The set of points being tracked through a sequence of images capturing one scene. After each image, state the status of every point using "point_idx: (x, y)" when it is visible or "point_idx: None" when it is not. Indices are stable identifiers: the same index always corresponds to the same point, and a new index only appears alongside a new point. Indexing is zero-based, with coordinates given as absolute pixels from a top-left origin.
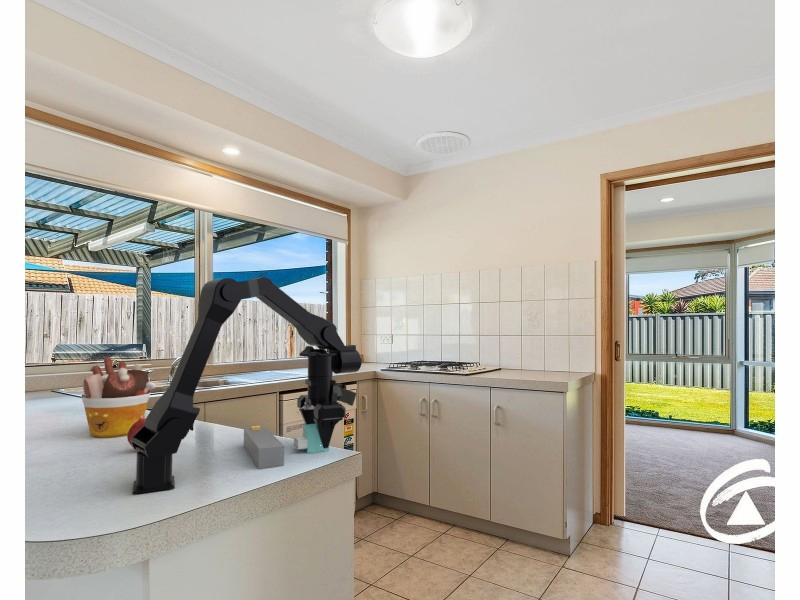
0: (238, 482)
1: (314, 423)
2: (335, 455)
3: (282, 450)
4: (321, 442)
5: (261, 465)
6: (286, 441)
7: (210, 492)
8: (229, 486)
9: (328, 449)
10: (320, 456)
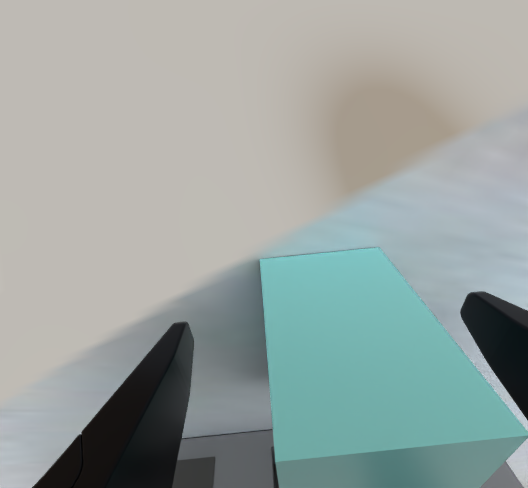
0: (510, 465)
1: (145, 476)
2: (511, 232)
3: (515, 481)
4: (490, 358)
5: None
6: (81, 395)
7: (523, 484)
8: (520, 472)
9: (382, 254)
10: (460, 303)
